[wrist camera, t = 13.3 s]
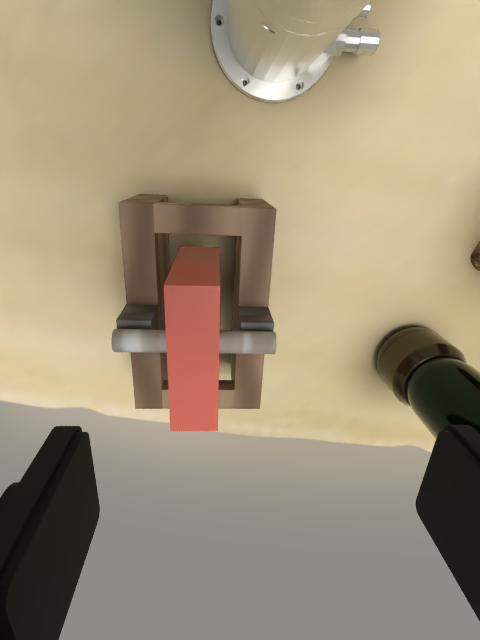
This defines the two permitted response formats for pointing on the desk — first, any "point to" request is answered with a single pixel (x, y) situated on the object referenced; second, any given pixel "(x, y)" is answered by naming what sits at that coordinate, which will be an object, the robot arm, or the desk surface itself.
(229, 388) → the tan hollow frame
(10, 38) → the desk surface
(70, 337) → the desk surface
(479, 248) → the book
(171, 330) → the red arch block
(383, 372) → the lamp
